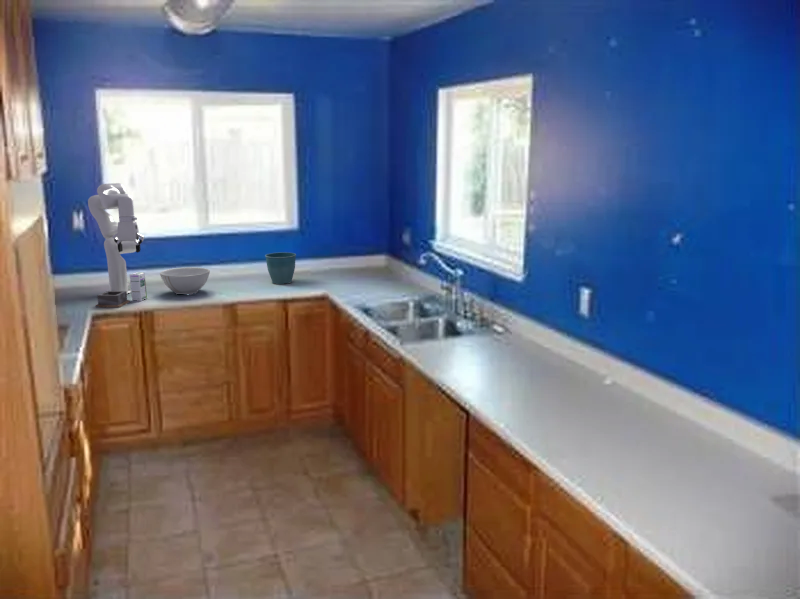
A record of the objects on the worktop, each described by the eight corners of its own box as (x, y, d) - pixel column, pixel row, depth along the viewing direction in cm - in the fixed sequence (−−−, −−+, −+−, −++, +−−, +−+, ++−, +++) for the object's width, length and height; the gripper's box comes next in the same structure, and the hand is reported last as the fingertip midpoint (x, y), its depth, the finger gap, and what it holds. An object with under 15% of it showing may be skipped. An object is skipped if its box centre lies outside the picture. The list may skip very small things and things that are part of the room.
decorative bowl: (154, 297, 393) (152, 276, 390) (170, 287, 419) (169, 267, 416) (202, 298, 392) (201, 276, 389) (216, 287, 418) (215, 267, 416)
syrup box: (141, 301, 385) (139, 274, 382) (131, 300, 386) (129, 274, 383) (147, 298, 390) (145, 272, 387) (137, 298, 392) (135, 272, 388)
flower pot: (272, 286, 422) (271, 258, 418) (262, 281, 437) (261, 253, 433) (301, 283, 430) (300, 255, 426) (290, 278, 446) (289, 251, 442)
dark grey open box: (107, 301, 384) (105, 290, 382) (130, 301, 383) (129, 290, 382) (95, 307, 372) (94, 295, 370) (119, 307, 371) (118, 296, 369)
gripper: (145, 218, 378) (148, 251, 382) (114, 218, 380) (117, 250, 384) (139, 220, 371) (141, 253, 375) (107, 219, 373) (110, 252, 377)
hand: (129, 251), depth 380 cm, fingers open, 9 cm apart
